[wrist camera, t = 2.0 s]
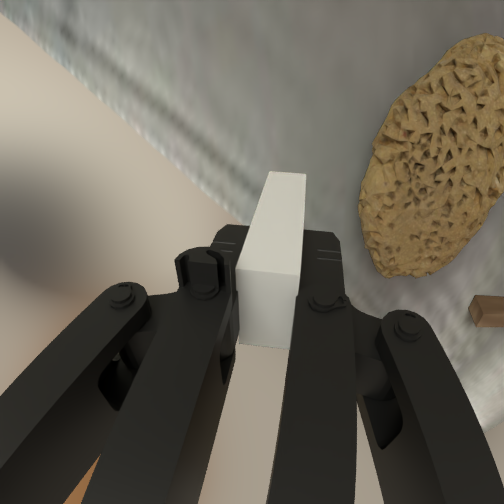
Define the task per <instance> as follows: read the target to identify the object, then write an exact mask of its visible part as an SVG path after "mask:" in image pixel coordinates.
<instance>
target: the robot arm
mask: <svg viewBox="0 0 504 504" xmlns="http://www.w3.org/2000/svg"><path fill="white" fill-rule="evenodd" d="M305 190H306V174H300V173H287V172H273V171H269V174H268V177H267V180H266V183H265V185H264V188H263V191H262V194H261V197H260V200H259V202H258V205H257V208H256V211H255V214H254V217H253V220H252V222H251V225H250V226H243V225H230V224H227V225H226V226H224V227H223V228H222V229H220V230H219V231H218V232H217V234H216V236H215V238H214V240H213V243H212V244H211V246H210V247H196V248H192V249H188V250H186V251H184V252H183V253H181V254H179V256H178V257H177V258H176V259H175V266H176V271H177V276H178V282H179V289H178V291H177V292H174V293H169V294H161V295H151V296H148V295H147V292H146V290H145V288H144V287H143V286H141V285H140V284H138V283H133V282H124V283H123V282H122V283H118V284H116V285H113V286H111V287H109V288H108V289H106V290H105V291H104V292H103V293H102V294H100V295H99V296H98V297H97V298H96V299H95V300H94V301H93V302H92V303H91V304H90V305H89V306H88V307H87V308H86V309H85V310H84V311H82V312H81V313H80V315H78V316H77V317H76V318H75V319H74V320H73V321H72V322H71V323H70V324H69V325H68V326H67V327H66V328H65V329H64V330H63V331H62V332H61V333H60V334H59V335H58V336H57V337H56V338H55V339H54V340H53V341H52V342H51V343H50V344H49V345H48V346H47V347H46V348H45V349H44V350H43V351H42V352H41V353H40V354H39V355H38V356H37V357H36V358H35V359H34V360H33V361H32V363H30V365H29V366H28V367H27V368H26V369H25V370H24V371H23V372H22V373H21V374H20V375H19V376H18V377H17V378H16V379H15V381H14V382H13V383H12V384H11V385H10V386H9V387H8V388H7V389H6V390H5V392H4V393H3V394H2V395H1V396H0V504H63V503H64V502H65V501H66V499H67V498H68V497H69V495H70V494H71V492H72V491H73V490H74V489H75V487H76V486H77V485H78V483H79V482H80V480H81V479H82V478H83V477H84V475H85V474H86V473H87V471H88V470H89V469H90V467H91V466H92V465H93V463H94V462H95V461H96V460H97V458H98V457H99V456H100V457H99V460H98V462H97V465H96V467H95V470H94V472H93V474H92V477H91V480H90V482H89V485H88V487H87V490H86V492H85V495H84V497H83V500H82V502H81V504H198V500H199V496H200V493H201V489H202V485H203V482H204V478H205V474H206V470H207V467H208V463H209V459H210V455H211V451H212V447H213V444H214V440H215V436H216V432H217V429H218V425H219V421H220V417H221V413H222V409H223V406H224V402H225V398H226V394H227V390H228V386H229V382H230V378H231V374H232V371H233V367H234V363H235V345H236V341H237V338H238V335H239V344H247V345H255V346H263V347H271V348H280V349H289V358H288V365H287V372H286V378H285V388H284V395H283V402H282V410H281V416H280V423H279V430H278V437H277V442H276V449H275V455H274V461H273V468H272V473H271V479H270V485H269V490H268V495H267V501H266V504H354V500H355V482H356V453H357V404H358V407H359V411H360V413H361V417H362V421H363V424H364V428H365V431H366V435H367V439H368V442H369V446H370V449H371V453H372V457H373V461H374V465H375V468H376V472H377V476H378V480H379V484H380V488H381V492H382V496H383V500H384V504H504V487H503V484H502V481H501V478H500V475H499V472H498V470H497V467H496V464H495V461H494V458H493V456H492V453H491V451H490V448H489V446H488V443H487V441H486V438H485V436H484V433H483V431H482V428H481V426H480V424H479V421H478V419H477V417H476V415H475V412H474V410H473V408H472V406H471V404H470V401H469V399H468V397H467V395H466V393H465V391H464V389H463V387H462V385H461V382H460V380H459V378H458V376H457V374H456V372H455V370H454V369H453V367H452V365H451V363H450V361H449V359H448V357H447V355H446V353H445V351H444V349H443V348H442V346H441V344H440V342H439V340H438V338H437V337H436V335H435V333H434V331H433V329H432V328H431V326H430V325H429V323H428V322H427V321H426V320H425V319H424V318H423V317H421V316H420V315H418V314H417V313H415V312H411V311H408V310H395V311H392V312H389V313H388V314H387V315H386V316H384V317H383V319H379V318H376V317H373V316H370V315H367V314H365V313H363V312H361V311H359V310H358V309H356V308H355V307H354V306H353V305H352V304H351V303H350V300H349V297H348V296H347V295H346V294H345V288H344V277H343V267H342V257H341V248H340V241H339V240H338V238H337V237H336V236H335V235H334V233H333V232H324V231H313V230H303V227H304V210H305ZM100 454H101V455H100Z"/></svg>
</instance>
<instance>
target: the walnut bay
mask: <svg viewBox="0 0 504 504" xmlns="http://www.w3.org/2000/svg"><path fill="white" fill-rule="evenodd" d="M469 311H470V313H471V316H472V318H473V321H474V323H475V326H476V327H504V297H498V296H480V295H475V297H474V299H473V300H472V302H471V304H470V306H469Z"/></svg>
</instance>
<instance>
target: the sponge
mask: <svg viewBox="0 0 504 504" xmlns="http://www.w3.org/2000/svg"><path fill="white" fill-rule="evenodd" d="M372 145H373V148H372V152H373V156H372V158H371V159H370V164H369V167H368V169H367V171H366V174H365V177H364V179H363V180H362V182H361V191H360V196H359V201H360V202H359V205H358V212H359V217H360V219H361V228H362V233H363V238H364V242H365V248H366V249H368V250H369V252H370V255H371V258H372V260H373V263H374V265H375V267H376V269H377V272H379V273H381V274H382V275H383V276H384V277H385V278H391V277H394V276H401V275H402V276H407V275H409V274H410V275H411V276H413V277H415V278H418V277H422V276H427V272H428V273H429V275H431V274H433V273H434V272H436V271H437V270H439V269H440V268H442V267H444V266H445V265H447V264H449V263H450V262H451V261H452V260H453V259H454V258H455V257H456V256H457V255H458V253H459V252H460V251H461V249H462V248H463V247H464V246H465V245H466V244H467V243H468V242H469V241H470V239H471V238H472V237H473V236H474V235H475V234H476V233H477V232H478V230H479V229H480V228H481V226H482V225H483V223H484V221H485V220H486V218H487V216H488V212H489V210H490V208H491V207H492V206H493V205H495V203H496V201H497V199H498V198H499V197H500V196H501V194H502V193H503V191H504V40H503V39H502V38H500V37H498V36H495V37H494V36H492V35H490V34H487V33H483V34H480V35H477V36H473V37H470V38H466V39H463V40H462V41H460V42H458V43H457V44H455V45H454V46H453V47H452V48H450V49H449V50H447V51H446V53H445V54H444V56H443V57H442V59H441V60H440V61H439V62H438V63H437V64H436V65H435V66H434V67H433V68H432V69H431V70H430V71H429V72H428V73H427V74H426V75H424V76H423V77H421V78H420V79H419V80H418V81H417V82H416V83H415V84H414V85H412V86H410V87H409V88H408V89H407V90H405V91H404V92H403V93H402V94H401V95H400V96H399V97H398V98H397V99H396V100H395V101H394V103H393V104H392V106H391V108H390V111H389V113H388V116H387V118H386V120H385V121H384V123H383V125H382V127H381V128H380V130H379V132H378V135H377V136H376V138H375V139H374V141H373V143H372Z"/></svg>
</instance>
